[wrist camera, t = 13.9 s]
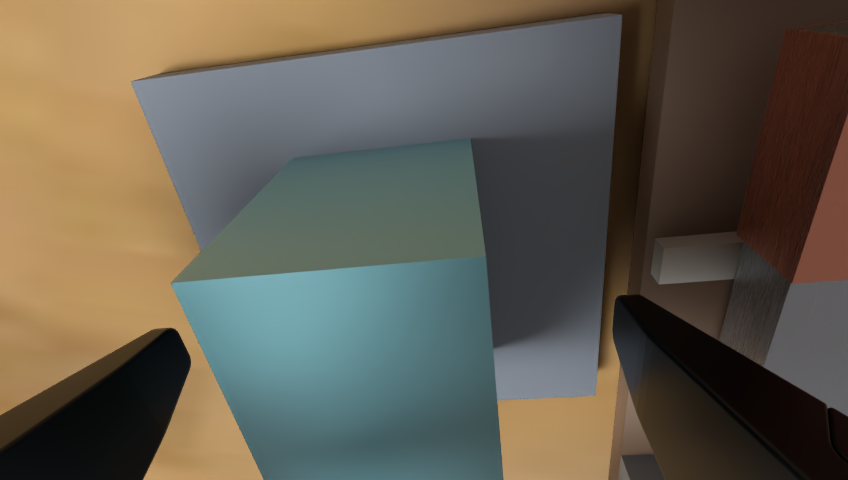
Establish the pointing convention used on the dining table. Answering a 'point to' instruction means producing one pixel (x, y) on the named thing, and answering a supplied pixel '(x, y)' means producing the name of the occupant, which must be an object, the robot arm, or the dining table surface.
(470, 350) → the plug
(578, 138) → the mat
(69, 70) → the dining table surface
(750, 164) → the base
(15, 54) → the dining table surface
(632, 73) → the dining table surface
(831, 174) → the cutter lever
